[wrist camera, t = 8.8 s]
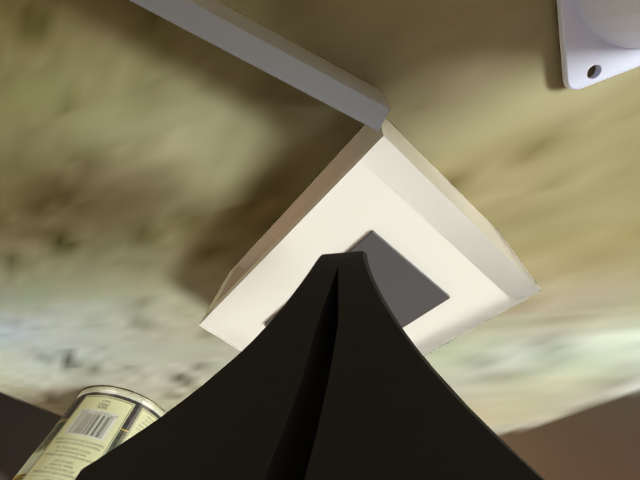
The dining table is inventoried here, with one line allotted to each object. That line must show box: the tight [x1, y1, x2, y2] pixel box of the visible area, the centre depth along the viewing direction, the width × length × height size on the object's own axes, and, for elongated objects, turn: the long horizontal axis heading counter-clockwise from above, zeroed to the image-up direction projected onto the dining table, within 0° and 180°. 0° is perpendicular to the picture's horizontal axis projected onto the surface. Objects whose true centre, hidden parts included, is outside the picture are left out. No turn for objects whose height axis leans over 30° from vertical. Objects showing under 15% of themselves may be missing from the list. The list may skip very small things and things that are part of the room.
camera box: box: [199, 118, 542, 356], centre depth 18 cm, size 10×14×5 cm
